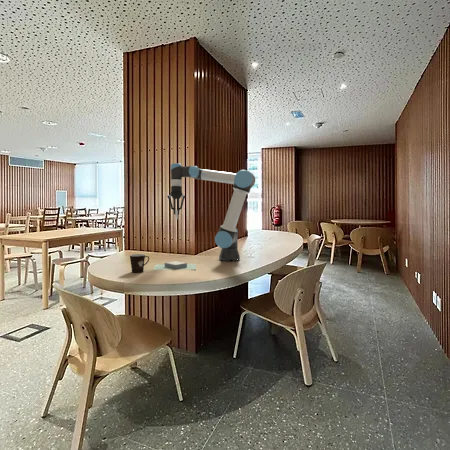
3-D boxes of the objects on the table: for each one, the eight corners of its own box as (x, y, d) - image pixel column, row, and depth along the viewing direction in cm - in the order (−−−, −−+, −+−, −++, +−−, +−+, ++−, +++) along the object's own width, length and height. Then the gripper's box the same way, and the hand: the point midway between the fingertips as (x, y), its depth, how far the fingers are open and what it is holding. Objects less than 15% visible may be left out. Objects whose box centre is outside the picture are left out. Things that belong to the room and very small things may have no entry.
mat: (195, 264, 207) (195, 263, 207) (196, 270, 189) (196, 269, 189) (155, 265, 204) (155, 264, 204) (152, 271, 186) (152, 270, 186)
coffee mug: (130, 273, 178) (130, 256, 178) (129, 271, 186) (129, 254, 186) (151, 272, 183) (151, 255, 182) (149, 269, 191) (149, 253, 190)
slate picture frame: (164, 262, 196) (175, 265, 188) (176, 260, 202) (186, 263, 195) (164, 266, 196) (175, 269, 188) (176, 265, 202) (186, 267, 195)
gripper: (185, 186, 224) (185, 219, 225) (167, 186, 222) (167, 219, 224) (185, 185, 216) (185, 219, 218) (166, 185, 215) (166, 219, 216)
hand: (176, 219), depth 221 cm, fingers closed
